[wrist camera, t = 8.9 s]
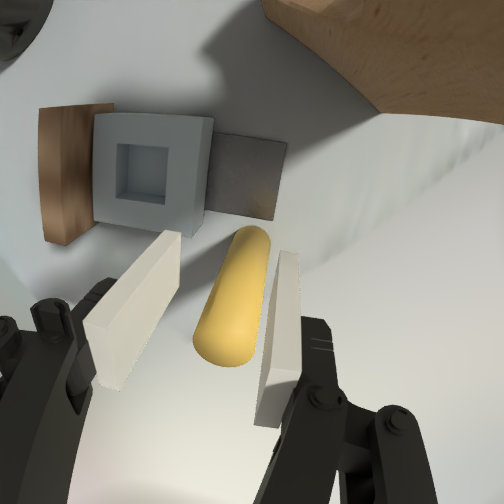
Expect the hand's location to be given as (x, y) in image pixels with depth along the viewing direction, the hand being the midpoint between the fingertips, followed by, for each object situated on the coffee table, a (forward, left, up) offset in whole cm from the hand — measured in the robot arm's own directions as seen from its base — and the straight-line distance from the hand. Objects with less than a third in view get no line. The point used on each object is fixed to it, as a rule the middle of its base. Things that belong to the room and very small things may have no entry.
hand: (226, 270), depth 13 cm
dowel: (+7, 0, -19) cm, 20 cm away
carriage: (0, -11, -19) cm, 22 cm away
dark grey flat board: (0, -7, -19) cm, 20 cm away
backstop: (0, -18, -19) cm, 26 cm away
